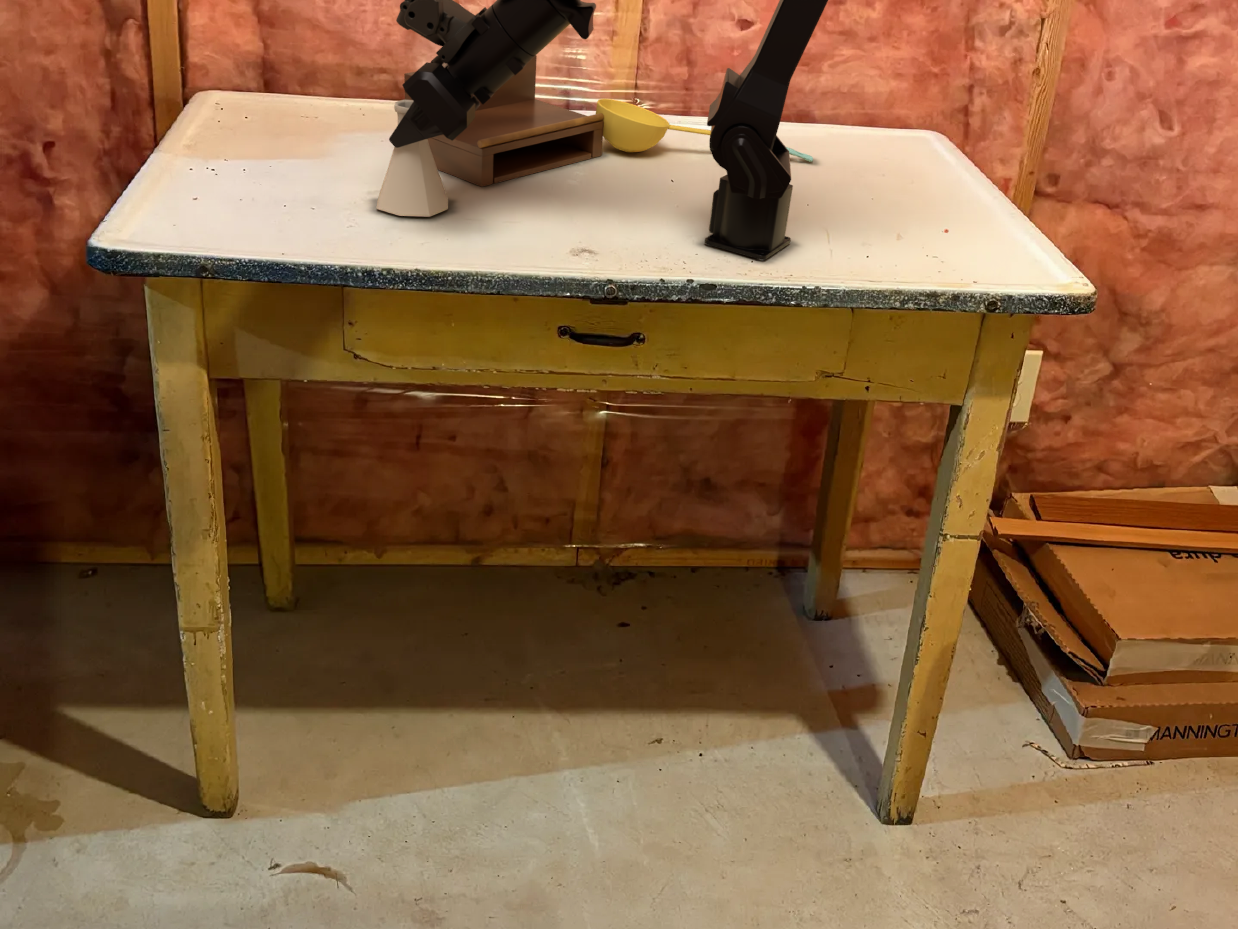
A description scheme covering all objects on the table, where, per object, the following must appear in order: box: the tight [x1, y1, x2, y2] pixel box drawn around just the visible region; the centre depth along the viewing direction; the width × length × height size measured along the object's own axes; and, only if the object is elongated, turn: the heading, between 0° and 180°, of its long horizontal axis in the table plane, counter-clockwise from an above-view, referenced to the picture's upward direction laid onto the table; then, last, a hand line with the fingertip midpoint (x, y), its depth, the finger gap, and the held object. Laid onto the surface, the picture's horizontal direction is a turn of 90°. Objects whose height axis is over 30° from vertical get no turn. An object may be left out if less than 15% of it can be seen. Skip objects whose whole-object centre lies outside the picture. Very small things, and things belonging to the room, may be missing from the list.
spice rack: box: [403, 55, 604, 188], centre depth 126 cm, size 12×19×9 cm, turn 139°
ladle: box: [595, 98, 814, 163], centre depth 135 cm, size 9×26×6 cm, turn 93°
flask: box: [375, 99, 449, 218], centre depth 110 cm, size 7×7×10 cm
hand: (397, 138), depth 109 cm, fingers closed on flask, 3 cm apart
